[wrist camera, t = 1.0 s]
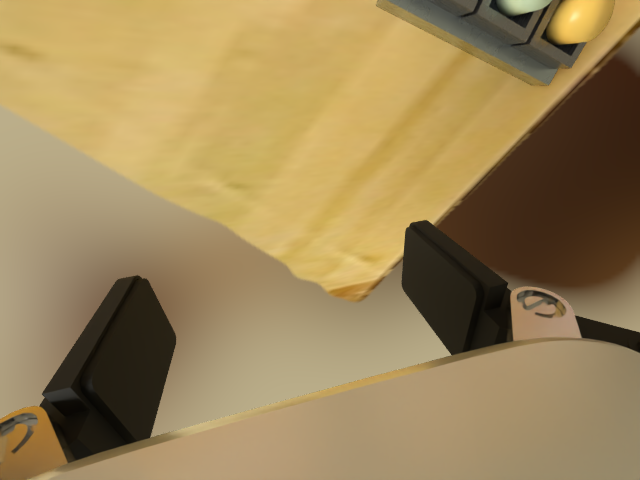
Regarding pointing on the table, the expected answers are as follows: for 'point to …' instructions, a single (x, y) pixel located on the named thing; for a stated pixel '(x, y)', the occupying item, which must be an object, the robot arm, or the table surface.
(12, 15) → the table surface
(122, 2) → the table surface
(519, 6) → the sage button
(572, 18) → the amber button
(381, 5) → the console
